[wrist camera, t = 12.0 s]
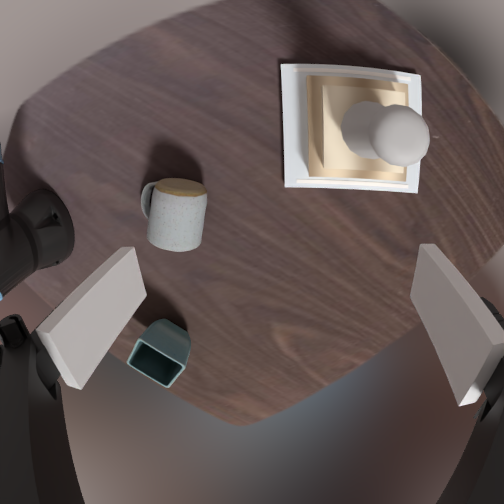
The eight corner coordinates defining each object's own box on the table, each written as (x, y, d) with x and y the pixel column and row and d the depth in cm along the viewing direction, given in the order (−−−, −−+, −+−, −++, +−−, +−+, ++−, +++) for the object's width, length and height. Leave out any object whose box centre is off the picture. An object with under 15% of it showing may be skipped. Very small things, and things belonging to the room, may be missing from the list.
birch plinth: (308, 172, 36) (309, 181, 31) (306, 78, 31) (307, 71, 26) (398, 176, 34) (414, 187, 29) (400, 86, 29) (417, 81, 24)
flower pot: (183, 356, 56) (167, 389, 48) (145, 332, 55) (125, 363, 47) (202, 331, 52) (186, 367, 44) (160, 305, 51) (138, 337, 43)
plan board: (285, 185, 39) (284, 187, 38) (281, 65, 32) (280, 63, 31) (415, 191, 36) (417, 193, 35) (417, 76, 29) (420, 75, 28)
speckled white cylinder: (216, 182, 40) (196, 196, 33) (207, 236, 44) (189, 259, 37) (148, 169, 41) (119, 180, 34) (144, 220, 44) (118, 239, 37)
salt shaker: (400, 139, 27) (456, 155, 16) (358, 165, 29) (392, 197, 18) (370, 92, 26) (414, 78, 14) (326, 119, 28) (344, 119, 16)
